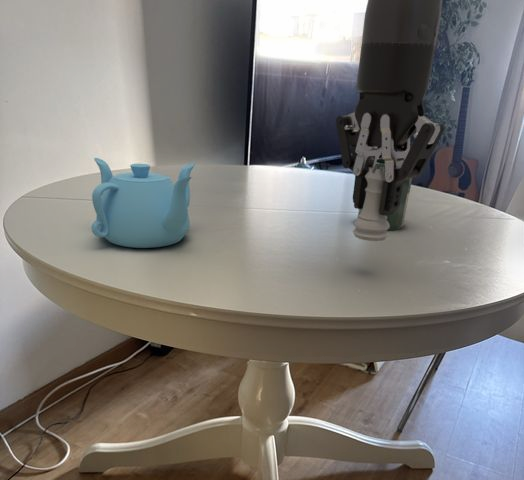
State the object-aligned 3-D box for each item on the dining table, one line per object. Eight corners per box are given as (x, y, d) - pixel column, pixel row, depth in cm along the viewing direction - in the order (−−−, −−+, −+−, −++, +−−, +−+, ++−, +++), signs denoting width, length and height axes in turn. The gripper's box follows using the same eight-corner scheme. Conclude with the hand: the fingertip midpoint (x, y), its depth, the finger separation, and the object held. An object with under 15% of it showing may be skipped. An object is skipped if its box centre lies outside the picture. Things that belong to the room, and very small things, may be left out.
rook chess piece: (393, 236, 60) (405, 168, 56) (380, 243, 56) (391, 172, 53) (360, 229, 62) (369, 164, 58) (345, 236, 59) (354, 168, 55)
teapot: (80, 252, 63) (69, 170, 58) (103, 223, 76) (95, 154, 71) (193, 254, 65) (191, 175, 60) (196, 226, 78) (195, 158, 73)
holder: (376, 217, 90) (386, 157, 85) (411, 227, 85) (424, 164, 80) (347, 221, 86) (356, 159, 81) (382, 232, 80) (394, 166, 75)
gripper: (480, 42, 47) (442, 219, 55) (369, 47, 56) (351, 197, 65) (436, 35, 43) (402, 228, 51) (324, 41, 52) (310, 203, 60)
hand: (373, 210), depth 58 cm, fingers closed on rook chess piece, 3 cm apart
